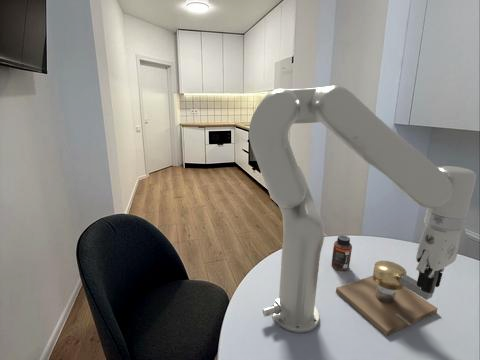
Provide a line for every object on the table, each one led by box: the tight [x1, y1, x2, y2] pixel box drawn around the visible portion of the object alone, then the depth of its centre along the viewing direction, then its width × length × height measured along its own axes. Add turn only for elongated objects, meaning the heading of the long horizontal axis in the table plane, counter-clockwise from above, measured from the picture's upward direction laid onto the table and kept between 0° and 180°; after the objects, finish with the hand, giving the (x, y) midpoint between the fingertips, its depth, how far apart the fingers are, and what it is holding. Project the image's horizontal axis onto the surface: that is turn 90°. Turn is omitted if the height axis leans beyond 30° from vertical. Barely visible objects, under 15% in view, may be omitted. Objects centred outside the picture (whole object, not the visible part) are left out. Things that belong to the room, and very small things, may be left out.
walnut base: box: [335, 275, 438, 337], centre depth 82 cm, size 20×19×2 cm
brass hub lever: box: [372, 260, 439, 301], centre depth 76 cm, size 16×10×11 cm, turn 29°
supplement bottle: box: [331, 234, 353, 271], centre depth 98 cm, size 6×6×11 cm
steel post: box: [375, 286, 396, 304], centre depth 81 cm, size 5×5×6 cm
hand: (427, 285), depth 71 cm, fingers closed on brass hub lever, 3 cm apart
